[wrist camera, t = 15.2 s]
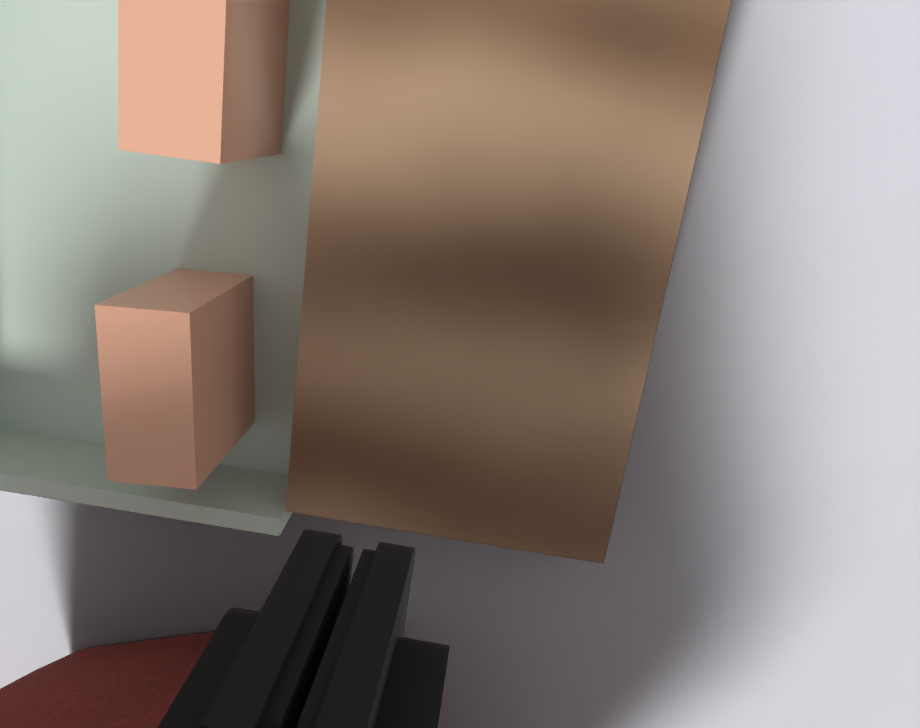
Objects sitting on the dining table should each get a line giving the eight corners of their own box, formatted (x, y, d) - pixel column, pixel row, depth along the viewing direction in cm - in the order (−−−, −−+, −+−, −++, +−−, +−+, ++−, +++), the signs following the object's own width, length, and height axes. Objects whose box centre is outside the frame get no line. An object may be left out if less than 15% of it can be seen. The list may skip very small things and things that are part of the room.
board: (362, -114, 22) (338, -148, 19) (721, -63, 22) (751, -90, 19) (310, 470, 27) (285, 511, 25) (595, 516, 27) (603, 563, 24)
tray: (-58, -197, 22) (-161, -252, 19) (364, -138, 22) (335, -183, 18) (-24, 431, 28) (-98, 474, 25) (308, 485, 28) (279, 536, 24)
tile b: (253, 274, 25) (175, 268, 25) (189, 313, 20) (94, 305, 20) (255, 422, 26) (182, 415, 27) (196, 489, 22) (107, 481, 22)
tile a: (291, -29, 22) (204, -41, 22) (229, -68, 17) (117, -83, 17) (280, 153, 24) (199, 142, 24) (219, 164, 19) (118, 149, 19)
